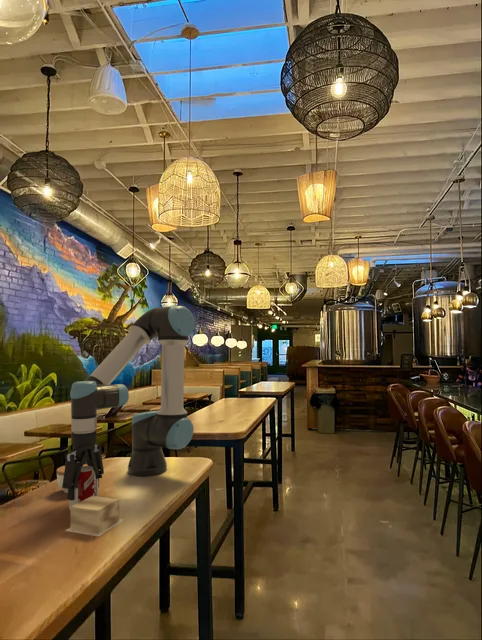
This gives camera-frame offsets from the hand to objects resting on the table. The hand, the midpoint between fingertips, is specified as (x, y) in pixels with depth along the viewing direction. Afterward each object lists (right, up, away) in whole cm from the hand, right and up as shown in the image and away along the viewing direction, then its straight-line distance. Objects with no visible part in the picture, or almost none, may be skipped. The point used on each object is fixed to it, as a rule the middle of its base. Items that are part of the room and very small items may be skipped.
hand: (84, 504), depth 137 cm
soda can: (0, -1, 0) cm, 1 cm away
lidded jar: (-10, -2, +17) cm, 19 cm away
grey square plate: (+7, 0, -15) cm, 16 cm away
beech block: (+9, +1, -16) cm, 18 cm away
